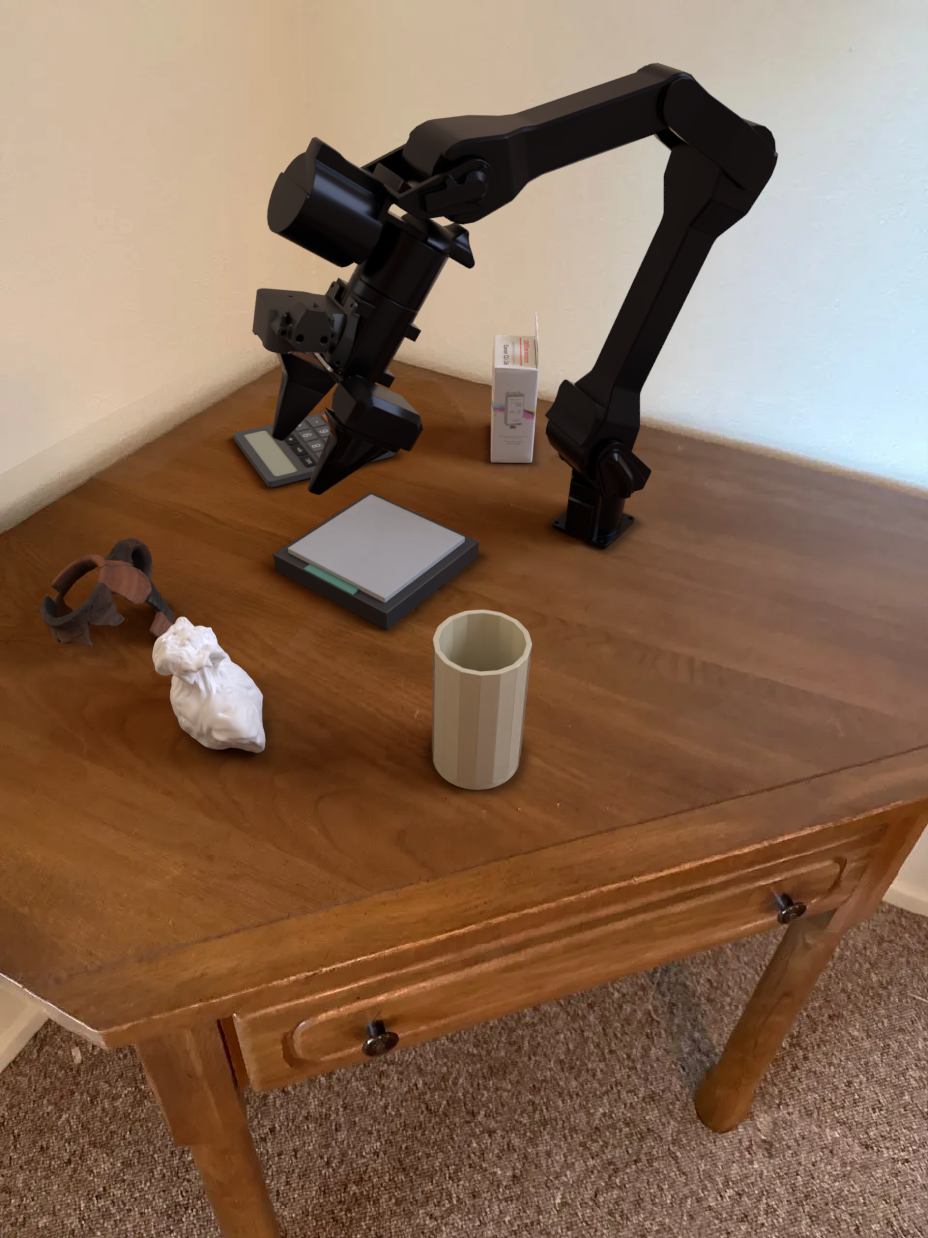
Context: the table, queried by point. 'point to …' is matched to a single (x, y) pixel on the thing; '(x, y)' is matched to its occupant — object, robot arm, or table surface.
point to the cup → (479, 697)
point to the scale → (377, 558)
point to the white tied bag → (209, 689)
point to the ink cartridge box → (514, 397)
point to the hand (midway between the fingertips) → (294, 464)
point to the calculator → (287, 450)
